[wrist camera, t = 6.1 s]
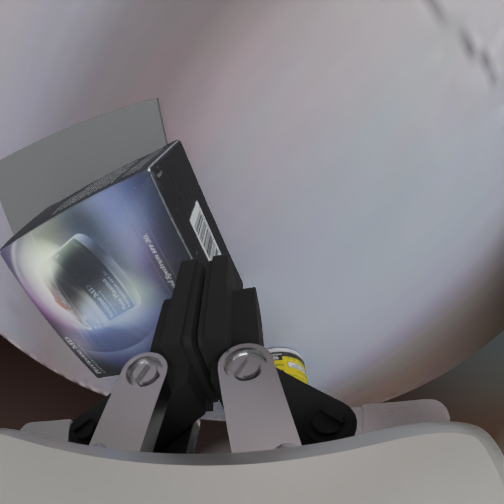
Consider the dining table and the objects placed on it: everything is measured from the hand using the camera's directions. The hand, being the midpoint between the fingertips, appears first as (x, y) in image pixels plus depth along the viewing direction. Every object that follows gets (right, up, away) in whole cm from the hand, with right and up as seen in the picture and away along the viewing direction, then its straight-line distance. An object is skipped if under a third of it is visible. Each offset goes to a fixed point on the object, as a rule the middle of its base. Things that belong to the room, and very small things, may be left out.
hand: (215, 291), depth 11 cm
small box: (-1, +2, +4) cm, 5 cm away
